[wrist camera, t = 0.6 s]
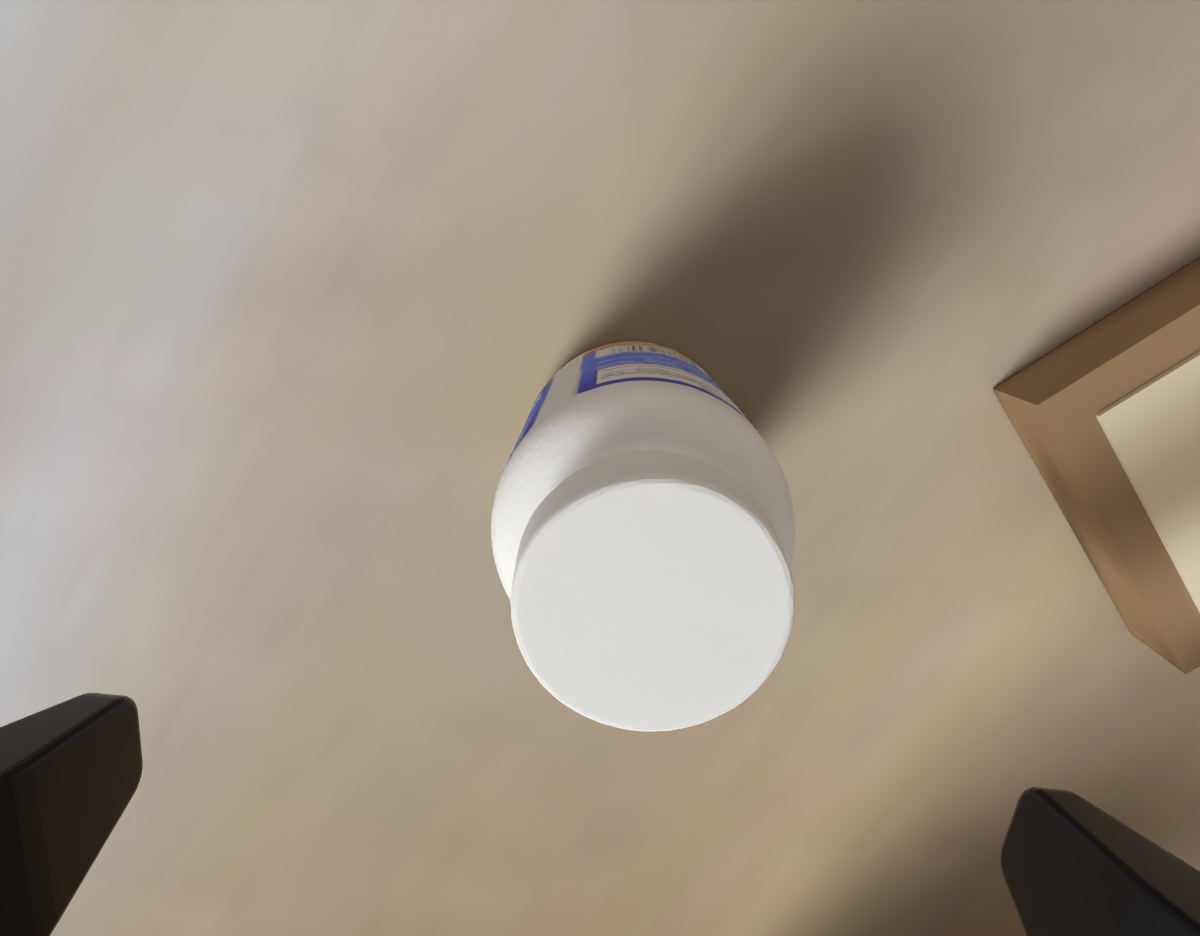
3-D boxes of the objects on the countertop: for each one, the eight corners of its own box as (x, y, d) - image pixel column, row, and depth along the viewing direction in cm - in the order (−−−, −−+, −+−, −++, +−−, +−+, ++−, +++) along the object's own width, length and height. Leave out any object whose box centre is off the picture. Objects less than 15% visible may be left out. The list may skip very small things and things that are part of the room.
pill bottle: (611, 566, 20) (617, 840, 11) (487, 421, 19) (374, 591, 10) (769, 453, 19) (925, 650, 10) (649, 292, 18) (698, 342, 9)
